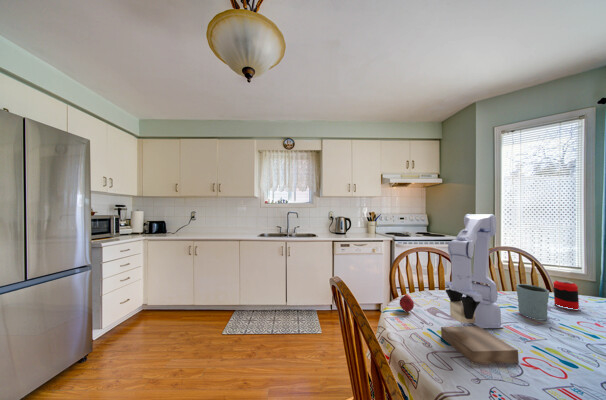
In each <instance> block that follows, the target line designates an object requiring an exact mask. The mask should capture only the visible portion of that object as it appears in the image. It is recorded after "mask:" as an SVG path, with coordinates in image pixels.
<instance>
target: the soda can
mask: <svg viewBox="0 0 606 400" xmlns="http://www.w3.org/2000/svg"><path fill="white" fill-rule="evenodd" d="M552 285H553V299H554V300H553V302H554V305H555V304H557V305H560V306H563V307H568V308H573V309H578V308H579V309H580V301H579V288H578V287H579V286H578V285H577V284H576V283H575V282H573V281H570V280H565V279H556V280H555V281H554V282H553V283H552Z"/></svg>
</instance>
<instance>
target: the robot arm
mask: <svg viewBox="0 0 606 400" xmlns="http://www.w3.org/2000/svg"><path fill="white" fill-rule="evenodd" d="M463 225H464V227H465V228H463V229H462V230H460V231H459V233H458V234H457V236H456V237H455V239H452V240H451V241H450V240H449V242H448V244H447V245H448V246H447V252H448V257H449V260H450V264H451V266H450V267H451V281H445V282H444V286H445V288H449V289H445V293H446V295H447V296H448V298H449V299H448V300H450V301H449V302H462V304H463V307H464V315H465V318H466V319H473V316H474V312H475V323H472V324H473V326H479V327H480V328H482V329H503V328H504V326H503V325H502V316H501V315H502V314H501V313H502V312H501V308H500V306H499V304H498V303H497V301H498V290H497V289H498V288H497V287H498V286H497V283H496V282H495V281H494V280H492V279H491V278H490V277H489V261H490V260H489V257H490V256H489V255H490V241H491V237H494V236H496V233H497V218H496V215H494V214H493V213H490V214H487V213H486V214H484V213H483V214H481V213H480V214H479V213H478V214H477V213H475V214H472V213H467V214H465V215H464V217H463ZM473 256H474V257H473ZM472 258H473V273H472Z"/></svg>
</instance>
